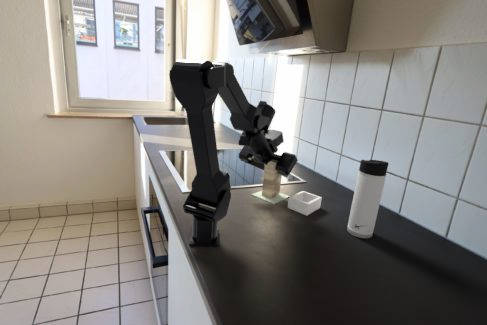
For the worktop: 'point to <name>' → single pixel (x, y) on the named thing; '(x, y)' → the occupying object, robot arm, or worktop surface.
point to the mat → (272, 200)
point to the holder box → (304, 202)
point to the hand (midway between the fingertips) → (275, 172)
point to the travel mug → (367, 198)
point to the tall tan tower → (271, 181)
